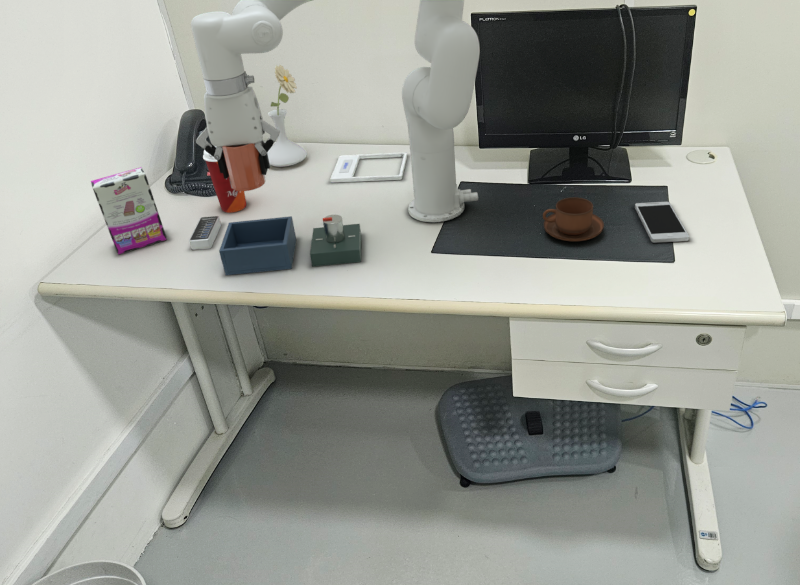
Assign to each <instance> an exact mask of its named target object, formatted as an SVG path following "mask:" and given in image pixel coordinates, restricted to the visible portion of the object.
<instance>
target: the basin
mask: <svg viewBox="0 0 800 585" xmlns="http://www.w3.org/2000/svg"><path fill="white" fill-rule="evenodd" d="M221 241H222V242H221V245H220V248H219V250H218V252H219V256H220V260H221V264H222V267H223V270H224V274H225V276H234V275H242V274H243V275H244V274H254V273H263V272H274V271H284V270H291V269H293V262H294V257H295V251H296V244H297V235H296V230H295V226H294V220H293V216H292V215H291V216H281V217H270V218H260V219H251V220H241V221H233V222H228V224H227V226H226V230H225V233H224V236H223V238H222V240H221Z"/></svg>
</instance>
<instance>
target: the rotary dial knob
mask: <svg viewBox="0 0 800 585" xmlns="http://www.w3.org/2000/svg"><path fill="white" fill-rule="evenodd" d="M343 225H344V221H343V217H342V215H340V214H328V215H326V216H325V217H322V227H324V232H325V237H326V241H327V242H330V243H337V242H340V241H342V240H344V238H345V234H344V227H343Z"/></svg>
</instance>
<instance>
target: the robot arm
mask: <svg viewBox="0 0 800 585" xmlns="http://www.w3.org/2000/svg"><path fill="white" fill-rule="evenodd" d="M312 1H313V0H239V1H238V2H237V3H236V5H235V6H234V8H233V9H232V11H231V13H229V12H227V11H220V10H216V11H208V12H203V13H200V14H197V15H195V16H194V17H192V19H191V21H190V28H191V33H192V38H193V42H194V46H195V50H196V54H197V58H198V62H199V67H200V71H201V75H202V79H203V83H204V84H203V85H204V88H205V92H204V93H203V105H204V115H205V123H206V127H205V129H204V130H203V131H202V132H201V133H200V134H199V135H198V136H197V138H196V140H195V143H196V144H197V145H198V146H199V147H201V149H204V150H205V151H206V152H208V153H209V154H210V155H212V156H213V157H214V158H215V159H216V160H217V162H218V166H219V170H220V173H223V176H224V179H227V178H228V177H229V176H228V172H227V168H226V164H225V160H224V156H223V149H222V146H237V145H247V144H251V143H253V144H254V145H255V147H256V149H257V150H258V151H259V162H260V167H261V172H262V174H263V175H265V176H267V173H268V170H270V168H271V165H270V164H269V159H268V154H267V152H268V151H269V150H270V148H271V147H272V146H273V145H274V144H275V143H276V141H277V138H278V136H279V134H280V131H279V130H278V129H276V127H275V126H273V125H271V124H270V123H268V122H267V121H266V120H264V119H263V115H262V111H261V110H262V109H261V107H260V104H259V100H258V98H257V95H256V93H255V90H254V88H253V86H250V85H251V84H254V83H255V76H254V75H253V74H252V75H250V74H248V73H247V72H246V70H245V66H244V61H243V58H242V55H245V54H266V53H269V52H272V51H273V50H275V49H276V48H278V46H279V45H280V43H281V42H282V39H283V34H284V29H283V25H282V22H281V20H283V19H284V18H285V17H286V16H288V14H290V13H291V12H292V11H294V10H295V9H296V8H299V7H300V6H302V5H304V4H306V3H309V2H312ZM464 7H465V0H419V5H418V13H417V18H416V19H417V20H416V24H415V25H416V26H415V31H414V32H415V33H414V48H415V51H416V52H417V54H418V55H419V56H420V57H421V58H422V59H423V60H425V61H426V62H428V63H430V66H421V67H417V68H415V69H413V70H412V71H411V72H409V73H408V75H407V76H406V77H405V79H404V80H403V84H402V88H401V100H402V101H401V102H402V105H403V110H404V115H405V120H406V124H407V131H408V132H407V133H408V140H409V155H410V156H409V157H410V165H411V177H412V187H413V200H412V201H410V202H409V204H408V207H407V209H408V215H409V216H410V217H412V218H413V219H415V220H417V221H419V222H426V223H441V222H446V221H450V220H453V219H455V218H458V217H459V216H461V214H462V213H463V212H464V211H465V203H466V202H478V201H479V194H478V192H477V191H475V192H472V189H470V188H467V189H460V188H458V184H457V173H456V155H455V153H456V152H455V133H454V129H455V128H457V127H458V126H459V125H460V124H461V123H462V122H463V121H464V120H465V119H466V116H467V114H468V112H469V109H470V107H471V103H472V98H473V93H474V88H475V84H476V77H477V72H478V67H479V61H480V55H481V54H480V53H481V52H480V49H481V48H480V41H479V36H478V34H477V32H476V30H475V29H474V28H473V26H472V25H471V24H470V23H467V21H464V20H463V13H464ZM264 134H269V137H268V138H267V139H266V141H265V140H264V139H263V135H264ZM207 138H208V139H209V141H208V140H207ZM215 146H217V147H215Z"/></svg>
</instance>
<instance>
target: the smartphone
mask: <svg viewBox="0 0 800 585" xmlns="http://www.w3.org/2000/svg"><path fill="white" fill-rule="evenodd" d="M634 209H635V211H636V213H637V215H638V218H639V219H640V221H641V224H642V225H643V227H644V229H645V231H646V233H647V236H648V237H649V240H650V242H651V243H654V244H656V243H672V242H688V241H689V240H690V235H689V233H688V232H687V230H686V228H685V227H684V224H683V223H682V221H681V219H680V218H679V215H678V214H677V213H676V211H675V210H674V207H673V206H672V203H670V201H656V202H636V203H635V204H634Z"/></svg>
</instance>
